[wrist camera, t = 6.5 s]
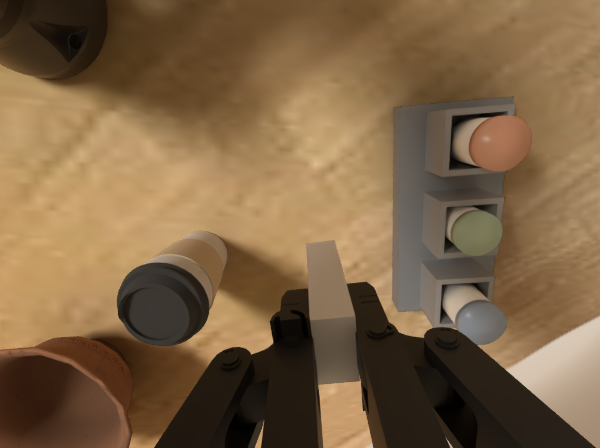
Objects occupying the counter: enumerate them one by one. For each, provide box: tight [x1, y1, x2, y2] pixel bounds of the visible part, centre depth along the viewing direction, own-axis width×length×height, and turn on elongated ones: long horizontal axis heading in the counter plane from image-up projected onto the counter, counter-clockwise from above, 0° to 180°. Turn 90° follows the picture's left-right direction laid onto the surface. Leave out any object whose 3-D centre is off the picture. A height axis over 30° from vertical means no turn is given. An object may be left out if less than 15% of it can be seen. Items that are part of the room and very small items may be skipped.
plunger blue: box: [441, 283, 507, 345], centre depth 35 cm, size 5×5×6 cm
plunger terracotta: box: [450, 115, 532, 171], centre depth 29 cm, size 5×5×6 cm
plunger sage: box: [445, 205, 503, 256], centre depth 34 cm, size 5×5×6 cm
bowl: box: [0, 336, 134, 448], centre depth 44 cm, size 22×22×11 cm
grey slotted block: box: [392, 96, 515, 328], centre depth 37 cm, size 26×12×8 cm, turn 5°
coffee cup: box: [117, 231, 228, 346], centre depth 36 cm, size 9×9×15 cm
